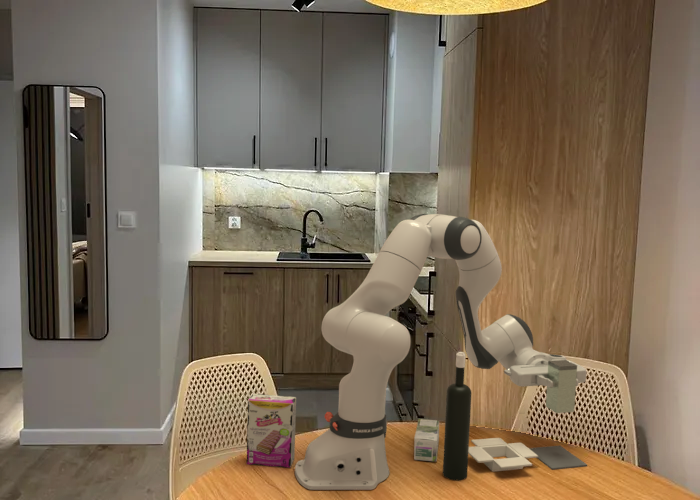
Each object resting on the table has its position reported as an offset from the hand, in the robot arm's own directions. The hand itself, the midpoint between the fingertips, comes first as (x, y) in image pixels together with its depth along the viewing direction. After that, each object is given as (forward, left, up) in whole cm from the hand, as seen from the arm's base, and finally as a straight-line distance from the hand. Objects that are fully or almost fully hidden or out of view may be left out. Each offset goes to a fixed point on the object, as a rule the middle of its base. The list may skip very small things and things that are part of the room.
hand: (564, 384), depth 162 cm
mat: (0, +1, -20) cm, 20 cm away
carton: (-16, +1, -20) cm, 26 cm away
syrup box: (-28, +19, -17) cm, 38 cm away
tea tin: (0, +1, -7) cm, 7 cm away
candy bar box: (-72, +12, -20) cm, 76 cm away
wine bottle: (-30, -3, -20) cm, 36 cm away
